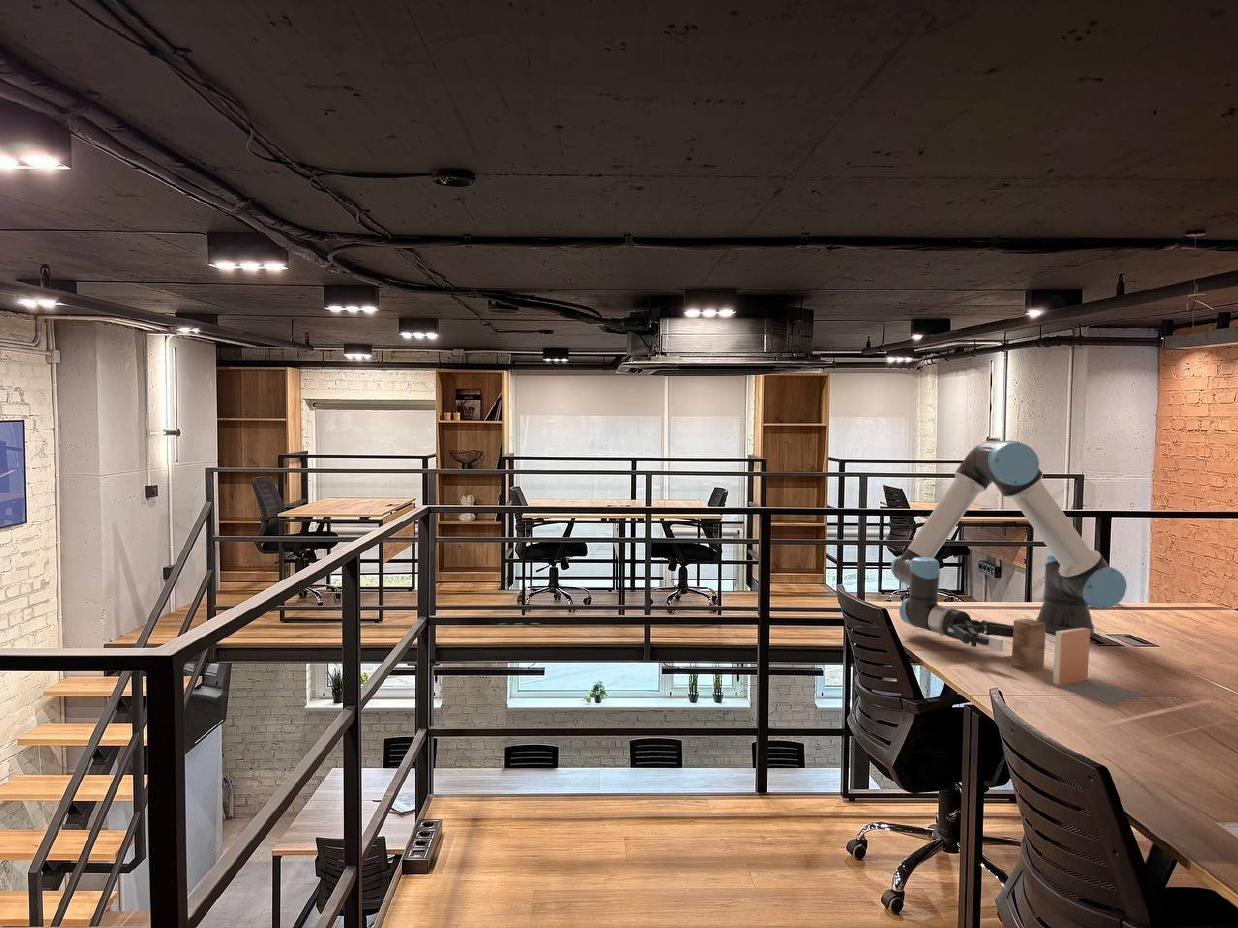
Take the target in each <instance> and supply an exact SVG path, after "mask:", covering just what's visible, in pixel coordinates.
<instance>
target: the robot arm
mask: <svg viewBox="0 0 1238 928" xmlns="http://www.w3.org/2000/svg"><path fill="white" fill-rule="evenodd" d="M1039 465H1040V460H1039V457H1038V455H1037V453H1036V452H1035V450H1034V449H1033V448H1032V447H1031V446H1029V445H1027V444H1025V443H1023V442H1020V441H1016V440H996V439H990V440H989V439H988V440H985V441H982V442H981V443H978V444H977V445H976V446H974V447H973V448H972V450H971V451H970V452H969V453H968V454H967V455H966V457H965V458H964V459H963V460H962V462H961V463H960V465H959V467H958V468H957V469H956V471H955V473H954V477H955V478H954V480H953V482H952V483H951V485H950V486H949V487H948V489H947V490H946V492H945V493H944V495H943V496H942V498H941V499H940V500H939V502H938V504H937V505H936V507H935V508H933V511H932V512H931V514H930V515H929V516H928V517H927V519H926V521H925V522H924V524H923V525H922V526H921V528H920V530H919V531H918V532H917V534H916V536H915V537H914V538H913V540H912V541H911V543H909V546H908V547H907V548H906V550H905V551H904V553H903V554H901V555H899V556H896V557H895V558H894V559H893V560H892V562H891V564H890V571H891V574H892V575H893V576H894V577H895V579H896V580H898V581H899V582H901V583H903V584H905V585H907V586H909V594H908V597H907V598H904V599H903V600H902V602H901V603H900V604H901V605H900V606H899V611H898V613H899V616H900V619H901V620H902V621H903V623H906V624H908V625H910V626H913V627H915V628H920V629H923V630H926V631H930V632H934V633H937V634H939V636H940V637H943V636H946V637H949V638H952V639H955V640H959V641H961V642H962V643H963V644H966V645H969V644H970V643H971V644H970V646H971V647H974V648H975V647H977V645H978V646H982V647H985V648H989V649H992V650H995V651H998V652H1003V646H1004V643H1003V642H1004V640H1003V639H1001V638H998V637H1006V638H1012V639H1013V628H1014V624H1013V625H1011V624H1005V623H999V622H993V621H988V620H985V619H982V620H981V621H979V620H977V619H976V620H975V619H972V618H971V616H970V615H969V613H967V612H966V611H963V610H959V609H956V608H952V607H948V606H944V605H940V604H938V602H939V601H938V600H939V596H938V595H939V584H940V583H939V582H940V574H941V573H940V572H941V571H940V562H939V560H937V559H936V558H935V557H936V555H937V554H938V552H939V550H941V548H942V546H943V545H944V544H945V542H946V541H947V539H948V538H949V537H950V536H951V534H952V532H953V531H954V529H955V528H956V526H957V525H958V523H959V522H960V521H961V519H962V518H963V517H964V515H965V514H966V512H967V511H968V510H969V508H970V507H971V505H973V504H972V503H973V502H974V501H975V499H976V498H977V497H978V495H979V494H980V493H983V492H985V491H986V490H987V489H988V487H990V485H991V484H994V485H995V486H996V487H997V489H998V490H999V492H1000V494H1002V497H1005V498H1008V499H1009V498H1010V499H1012V500H1013V501H1014V503H1015V504H1016V505H1017V507H1018V508H1019V510H1020V512H1021V513H1022V514H1023V515H1024V517H1025V518H1026V519H1027V521H1028V522H1029V524H1030V525H1031V527H1032V528H1033V529H1034V530H1035V532H1036V533H1037V535H1038V537H1040V539H1041V540H1042V542H1043V543H1044V544H1045V546H1046V548H1047V549H1048V550H1049V551H1050V553H1048V554H1047V555H1046V560H1045V563H1044V567H1045V568H1044V570H1045V571H1044V589H1043V590H1044V591H1043V592H1044V593H1043V603H1042V606H1041V607H1040V611H1039V613H1038V616H1037V617H1036V619H1035V621H1039V622H1042V623H1046V633H1049V634H1053V635H1056V631H1062V630H1069V629H1076V628H1088V629H1090V637H1092V636H1094V634H1095V626H1094V623H1093V621H1092V616H1091V612H1090V609H1089V607H1091V608H1096V609H1100V610H1101V609H1102V610H1104V609H1105V610H1106V609H1111V608H1113V607H1115V606H1117V605H1118V604H1119V603H1121V602H1122V600H1123V599H1124V597H1125V594H1126V590H1127V580H1126V578H1125V576H1124V574H1123V573H1122V572H1121V571H1119V570H1118V569H1117V568H1115V567H1112V566H1110V565H1109V564H1108V562H1107V561H1106V560H1105V559H1104V557H1103V555H1102V554H1101V553H1100V552H1099V551H1098V550H1094V549H1090V547H1089V546H1088V545H1087V544H1086V542H1085V541H1084V539H1083V538H1082V537H1081V535H1080V534H1079V532H1078V531H1077V530H1076V528H1075V526H1074V525H1073V524H1072V523H1071V521H1070V520H1069V519H1068V517H1067V516H1066V515H1065V513H1064V512H1063V510H1062V508H1061V507H1060V506H1059V504H1058V503H1057V502H1056V500H1055V499H1054V498H1053V496H1052V495H1051V493H1050V492H1049V491H1048V489H1047V488H1046V486H1045V485H1044V484H1043V482H1042V479H1043V477H1044V476H1043V475H1044V474H1043V472H1042V471H1041V469H1040V467H1039ZM996 636H997V637H996Z"/></svg>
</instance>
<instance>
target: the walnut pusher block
mask: <svg viewBox="0 0 1238 928" xmlns="http://www.w3.org/2000/svg"><path fill="white" fill-rule="evenodd" d="M1013 626H1014V628H1013V638H1012V647H1011V648H1012V649H1011V650H1012V651H1011V667H1013V668H1015V669H1018V670H1022V671H1024V672H1027V673H1033V672H1038V671H1044V666H1045V664H1044V663H1045V662H1044V661H1045V651H1046V650H1045V649H1046V646H1045V645H1046V633H1047V632H1046V623H1042V622H1039V621H1036V619H1035V620H1034V619H1030V618H1024V619H1016V620H1015V619H1014V620H1013Z"/></svg>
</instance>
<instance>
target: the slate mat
mask: <svg viewBox="0 0 1238 928" xmlns="http://www.w3.org/2000/svg"><path fill="white" fill-rule="evenodd" d="M1044 684H1045V685H1048V686H1051V687H1055V688H1058V689H1060V690H1064V691H1067V692H1070V693H1073V694H1075V695H1079V696H1082V697H1085V698H1089V699H1091V700H1095V701H1098V702H1101V703H1104V704H1108V705H1111V704H1114V703H1119V702H1125V701H1128V700H1129V701H1130V700H1133V699H1134V700H1135V699H1138V698H1142V697H1147V696H1148V695H1147V694H1143V693H1141V692H1137V691H1133V690H1130V689H1127V688H1124V687H1121V686H1117V685H1115V684H1114V685H1113V684H1110V683H1107V682H1104V681H1101V680H1097V679H1094V678H1091V677H1088V678H1087V680H1084V681H1079V682H1074V683H1068V684H1063V685H1058V684H1055V683H1053V680H1051V681H1047V682H1044Z"/></svg>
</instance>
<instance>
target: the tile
mask: <svg viewBox="0 0 1238 928" xmlns="http://www.w3.org/2000/svg"><path fill="white" fill-rule="evenodd" d="M1054 640H1055V641H1054V657H1053V658H1054V659H1053V660H1054V661H1053V673H1052V674H1053V677H1052V681H1053V683H1055V684H1058V685H1063V684H1068V683H1074V682H1079V681H1084V680H1087V678H1089V676H1088V675H1089V674H1088V672H1089V663H1090V662H1089V659H1090V643H1091V636H1090V629H1088V628H1076V629H1069V630H1062V631H1056V634H1055V639H1054Z"/></svg>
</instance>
